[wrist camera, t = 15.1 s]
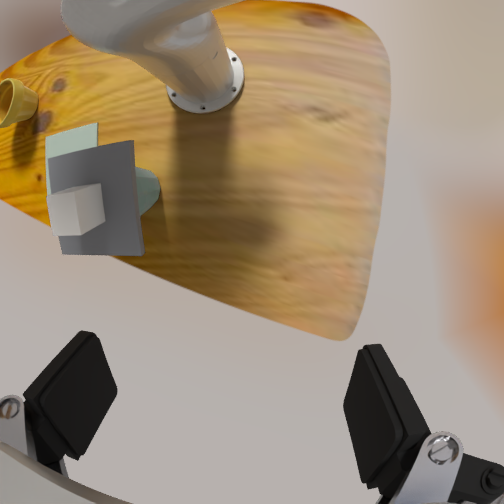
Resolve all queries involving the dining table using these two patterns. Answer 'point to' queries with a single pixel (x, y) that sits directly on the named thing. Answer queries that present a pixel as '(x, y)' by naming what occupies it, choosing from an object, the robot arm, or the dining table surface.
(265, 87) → the dining table surface
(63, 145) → the mat
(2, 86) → the plant pot
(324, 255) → the dining table surface
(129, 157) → the lid
